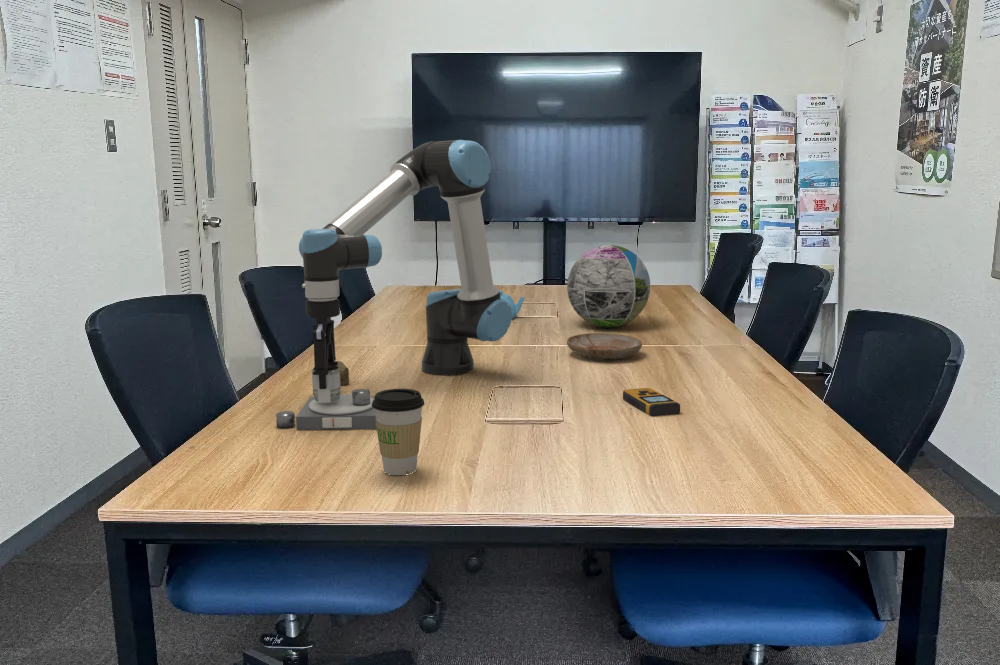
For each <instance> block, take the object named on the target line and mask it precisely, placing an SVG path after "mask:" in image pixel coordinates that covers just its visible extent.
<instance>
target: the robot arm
mask: <svg viewBox="0 0 1000 665" xmlns="http://www.w3.org/2000/svg"><path fill="white" fill-rule="evenodd" d="M491 167H492V165H491V160H490V157H489V154H488V153H487V150H486V149H485V148H484V147H483V146H482V145H480V143H478V142H476V141H473V140H464V139H456V140H454V139H453V140H439V141H437V140H433V141H431V140H430V141H428V142H425V143H422V144H420V145H418V146H417V147H415V148H413V149H412V150H410V151H409V152H407V153H406V154H405V155H403V156H402V157H401V158H400V159H399V160H397V161H396V162H395V163H393V164H392V166H390V170H389V173H388V174H386V175H385V176H384V177H383V178H382V179H380V180H379V181H377V182H376V183H375V185H373V186H372V187H370V189H368V190H367V191H366V192H365V193H363V195H362V196H359V198H357V199H356V200H355V201H354V202H353V203H351V204H350V205H349V206H348V207H347V208H346V209H344V210H343V211H342V212H341V213H340V214H338V215H337V216H336V217H334V219H332V220H331V221H330V222H328V223H327V224H326V225H325V226H324V227H322V228H315V229H314V228H311V229H307V230H304V231H303V233H302V237H301V238H300V240H299V242H298V252H299V254H300V256H301V258H302V262H303V278H304V283H302V284H301V288H302V289H304V295H305V296H304V297H305V298H306V301H305V302H304V303H305V315H306V317H308V318H311V319H312V318H314V319H315V324H313V330H312V336H313V339H312V340H313V356H314V357H313V359H314V360H313V361H314V362H313V363H314V367H315V370H314V372H313V375H317V390H318V403H320V402H331V397H330V375H329V374H328V364H329V365H330V364H332V365H338V362H334V361H337V357H336V343H335V342H336V341H335V320H334V319H332V318H335V317H337V316H340V314H341V306H340V300H339V298H338V297H339V296H340V278H339V271H343V270H351V269H353V270H354V269H363V268H364V269H368V268H369V267H374V266H377V265H378V264H379V263H380V262H381V260H382V257H383V250H382V249H383V248H382V247H383V246H382V243H381V242H380V240H379V238H378V237H376V236H375V235H373V234H365V233H367V232H368V231H369V230H370V229H371V228H373V227H374V226H375V225H376V224H377V223H379V222H380V221H381V220H382V219H383V218H384V217H385V216H387V215H388V214H389V213H390V212H391V211H392V210H394V208H396V207H397V206H398V205H399V204H401V203H402V202H403V201H404V200H405V199H407V198H408V197H409V196H416V195H417V194H418V193H420V191H422V190H424V189H427V188H432V187H438V189H439V194H440V195H439V196H440V198H441V199H442V200H444V201H445V202H447V205H448V212H449V219H450V225H451V230H452V231H451V232H452V236H453V237H452V238H453V242H454V243H453V244H454V250H455V255H456V261H457V268H458V274H459V280H460V285H461V288H454V289H444V290H436V291H432V292H429V293H427V295H426V301H425V302H426V304H425V315H426V318H425V320H426V339H427V340H426V346H425V350H424V352H423V356H422V360H421V371H422V372H424V373H425V374H431V375H436V376H437V375H438V376H439V375H440V376H454V375H456V376H457V375H463V374H467V373H470V372H472V371H474V370H475V361H474V358H473V355H472V351H471V348H470V346H469V341H468V339H472V340H478V341H481V342H497V341H499V340H500V339H502V338H503V337H504V336H505V335H506V333H507V332H508V330H509V328H510V326H511V323H512V320H513V319H512V310H511V307H510V305H509V304H508V303H507V302H506V301H505V300H503V299H501V297H500V291H501V290H500V288H499V287H498V286H497V285H495V284H494V283H493V281H494V280H493V275H492V269H491V262H490V257H489V256H490V255H489V248H488V242H487V235H486V228H485V222H484V216H483V208H482V202H481V197H482V195H483V193H484V192H485V191H486V189H485V184H486V183H488V181H489V179H490V175H491V174H492V173H491V171H492V168H491ZM319 368H322V369H319Z"/></svg>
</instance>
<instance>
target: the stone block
mask: <svg viewBox="0 0 1000 665" xmlns="http://www.w3.org/2000/svg"><path fill="white" fill-rule="evenodd" d="M334 362H338V365H336V366H338V367H339V369H340V387H342V386H347V385H348V386H349V384H350V372H349V371H350V370H349V368H348V367H347V366H346V365H345V363H344V362H342V361H341V360H335V361H334Z"/></svg>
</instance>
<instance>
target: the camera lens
mask: <svg viewBox="0 0 1000 665" xmlns="http://www.w3.org/2000/svg"><path fill="white" fill-rule="evenodd" d="M319 369H322V368H319ZM314 370H315V366H314V367H313V368H312V370H311V380H312V393H313V397H314V398H315V401H317V402H318V390H317V375H313V372H314ZM328 374H329V375H330V397H331V402H333V401H337V400H339V399H340V394H342V392H341V391H342V390H341V389H342V388H341V386H340V369H339V367H338V366H336V365H332V364H330V365H329V364H328Z"/></svg>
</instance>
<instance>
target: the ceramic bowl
mask: <svg viewBox="0 0 1000 665" xmlns="http://www.w3.org/2000/svg"><path fill="white" fill-rule="evenodd" d="M566 345H567V347H568V348H569V349H570V350H571V351H572V352H574V353H576V354H577V355H579V356H582V357H585V358H590V359H595V360H596V359H597V360H619V359H624V358H625V359H626V358H628V357H631V356H633V355H634V354H637V353H638V352H639V351H640V350H641V348H642V346H643V342H642V340H641V339H639V338H637V337H635V336H632V335H631V336H630V335H627V334H620V333H612V332H589V333H588V332H587V333H580V334H576V335H572V336H570V337H568V338H566Z"/></svg>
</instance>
